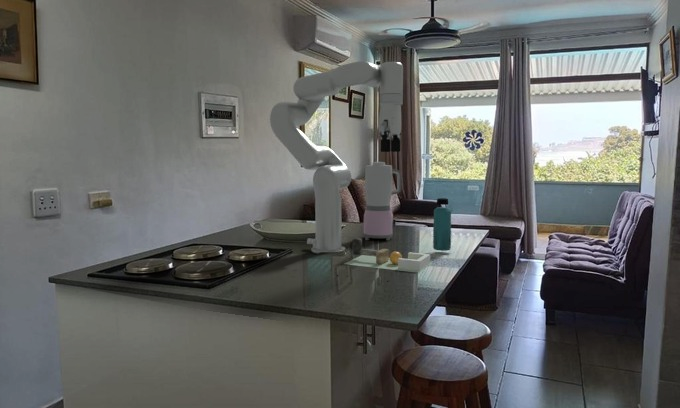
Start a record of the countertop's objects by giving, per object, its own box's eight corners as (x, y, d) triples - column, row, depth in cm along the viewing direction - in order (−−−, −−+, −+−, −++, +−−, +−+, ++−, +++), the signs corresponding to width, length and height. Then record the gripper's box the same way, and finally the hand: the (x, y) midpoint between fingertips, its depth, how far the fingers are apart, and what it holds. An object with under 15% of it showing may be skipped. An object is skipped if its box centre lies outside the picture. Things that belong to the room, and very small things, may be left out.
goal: (397, 268, 155) (398, 259, 155) (409, 261, 165) (409, 252, 164) (419, 271, 152) (420, 261, 152) (430, 263, 162) (430, 254, 161)
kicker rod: (349, 260, 165) (349, 240, 164) (356, 256, 170) (356, 237, 170) (382, 263, 160) (382, 243, 159) (388, 260, 165) (389, 239, 164)
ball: (387, 264, 160) (387, 252, 160) (391, 262, 164) (392, 249, 163) (399, 265, 158) (399, 253, 158) (403, 263, 162) (403, 251, 161)
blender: (363, 241, 205) (363, 162, 202) (362, 236, 217) (363, 161, 214) (402, 241, 205) (403, 162, 201) (399, 236, 217) (400, 161, 213)
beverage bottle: (451, 255, 179) (452, 199, 177) (432, 254, 180) (433, 198, 178) (450, 251, 185) (452, 197, 183) (432, 250, 187) (433, 197, 184)
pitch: (343, 266, 161) (343, 263, 161) (362, 257, 174) (362, 255, 174) (418, 275, 150) (418, 272, 150) (432, 265, 163) (432, 262, 163)
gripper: (389, 102, 178) (389, 151, 180) (371, 98, 163) (370, 151, 164) (410, 102, 175) (409, 151, 177) (393, 97, 159) (392, 152, 161)
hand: (390, 151), depth 171 cm, fingers open, 9 cm apart
